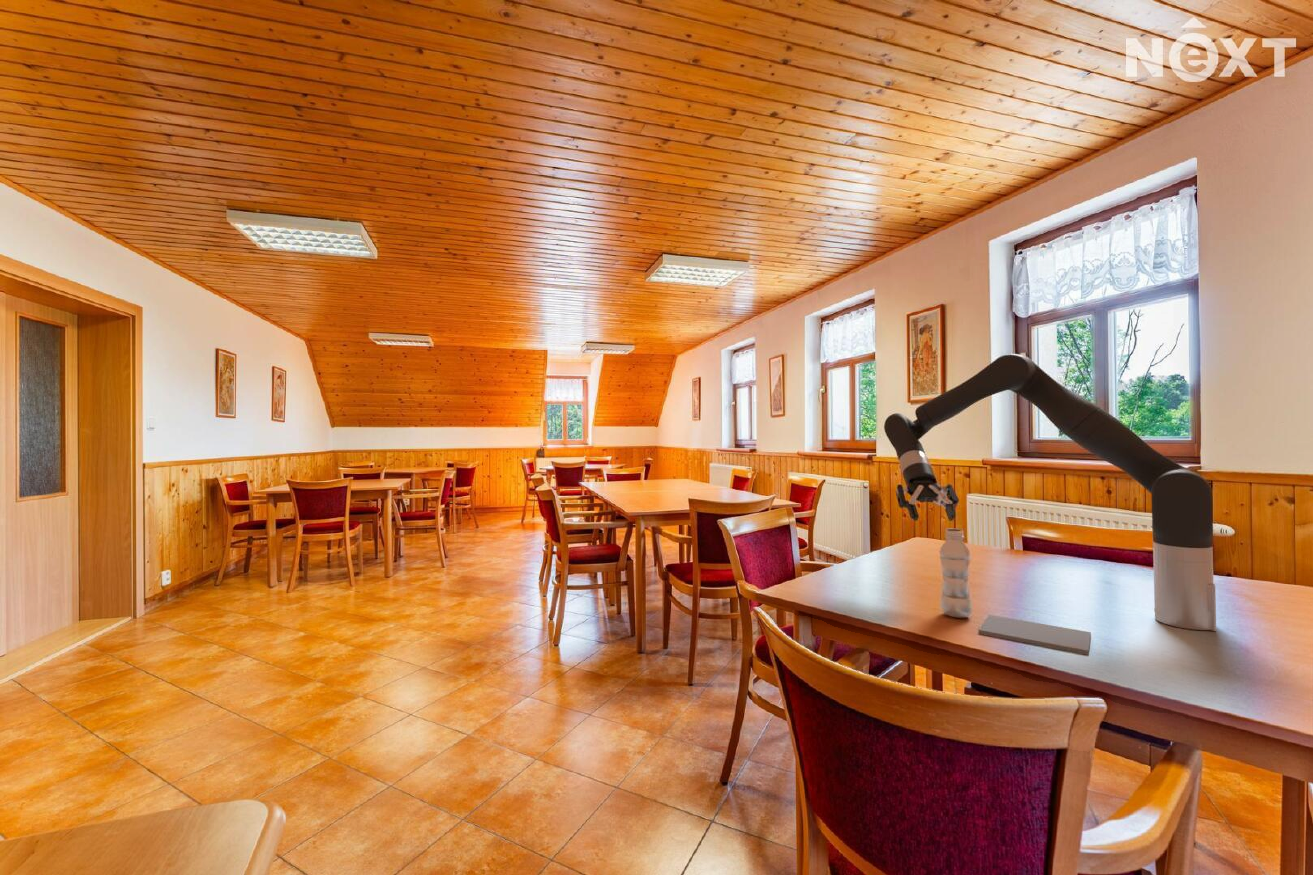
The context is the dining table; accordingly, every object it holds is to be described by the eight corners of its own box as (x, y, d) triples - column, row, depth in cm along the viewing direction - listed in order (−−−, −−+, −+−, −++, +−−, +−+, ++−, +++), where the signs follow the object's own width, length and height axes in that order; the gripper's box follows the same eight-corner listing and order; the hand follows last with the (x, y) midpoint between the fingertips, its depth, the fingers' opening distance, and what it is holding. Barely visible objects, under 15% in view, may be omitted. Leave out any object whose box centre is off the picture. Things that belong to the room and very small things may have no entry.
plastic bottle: (975, 615, 123) (973, 529, 123) (968, 623, 118) (966, 533, 118) (945, 609, 127) (943, 526, 127) (936, 617, 122) (934, 530, 122)
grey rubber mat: (1090, 636, 109) (1090, 632, 109) (1088, 654, 100) (1088, 650, 100) (989, 618, 121) (989, 614, 121) (978, 633, 112) (978, 629, 112)
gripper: (892, 462, 144) (908, 510, 133) (948, 461, 142) (968, 509, 131) (887, 479, 149) (901, 527, 138) (940, 479, 147) (959, 527, 136)
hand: (934, 518), depth 134 cm, fingers open, 8 cm apart
